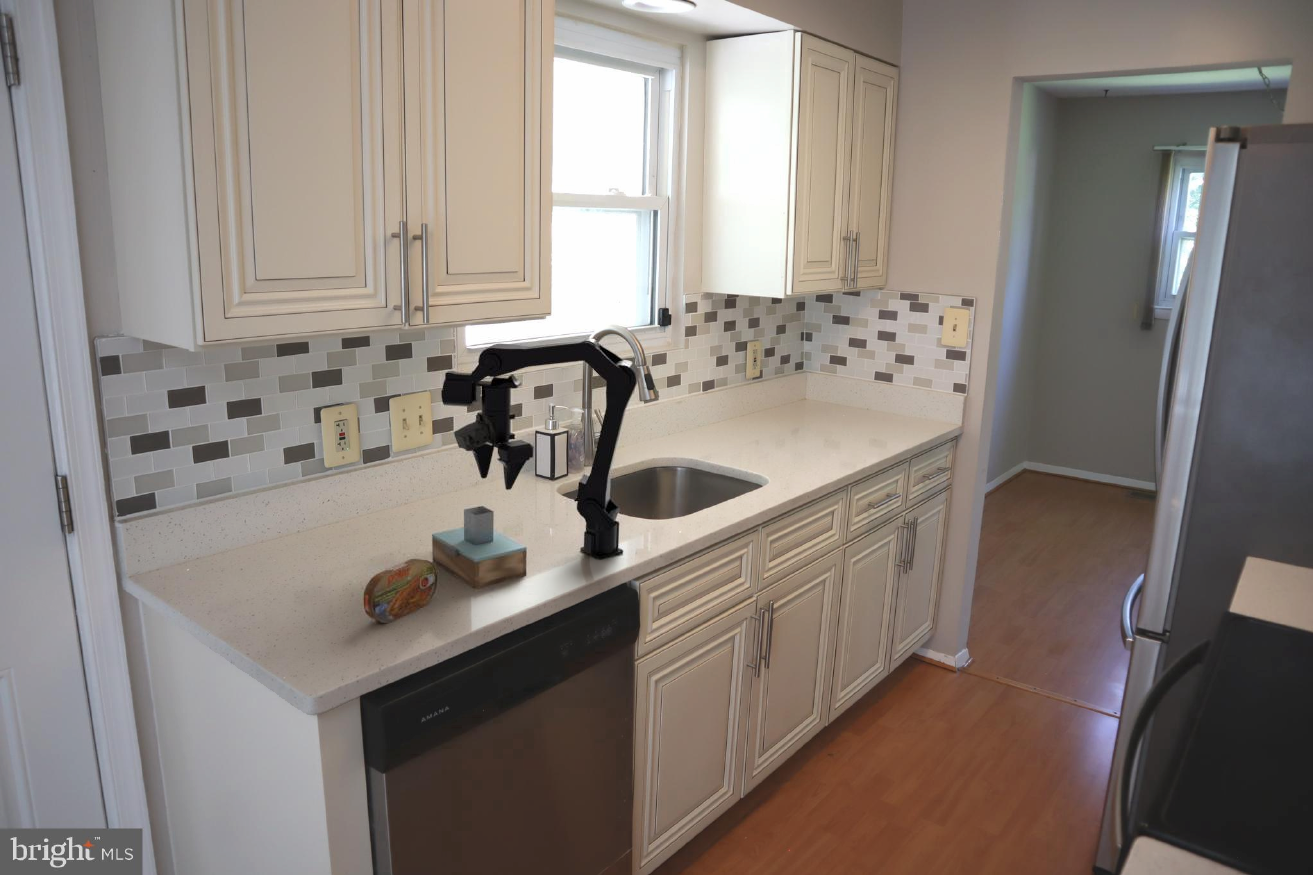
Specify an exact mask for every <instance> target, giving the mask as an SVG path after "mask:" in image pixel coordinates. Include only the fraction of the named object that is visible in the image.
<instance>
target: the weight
mask: <svg viewBox="0 0 1313 875" xmlns="http://www.w3.org/2000/svg"><path fill="white" fill-rule="evenodd" d="M494 516H495V515H494V511H493V510H492V509H489V508H487V507H486V506H483V505H480V506H474V507H470V508H464V509H463V527H464V540H466V541H468V542H469V543H471V544H473V545H475V546H476V545H480V544H484V543H489V542H493V530H494V525H495V524H494V521H495V520H494Z"/></svg>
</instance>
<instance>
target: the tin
mask: <svg viewBox="0 0 1313 875" xmlns="http://www.w3.org/2000/svg"><path fill="white" fill-rule="evenodd" d="M436 568H437V567H435V564H433V562H431V561H429V560H427V559H420V558H411V559H408V560H406V561H403V562H402V563H398V564H397V565H394V566H392V567H389V568H388V569H385V570H383V571H381V572H379V573H376V574H374V576H372V577H371V579H369V581H368V583H367V584H366V586H365V588H364V591H363V609H364V612H365V614H366V615H367V616H368V617H369V618H370V619H373V620H375V621H378V622H381V623H383V624H391V623H393V622H395V621H397V620H398V619H401V618H403V617H405V616H406V615H409V614H410V613H412V612H415V611H417V610H419V609H421V608H422V607H424V606H426V605H427V604H429V602H430V601H431V600H432V598H434V595H435V593H436V590H437V587H438V581H439V580H438V571H437V569H436Z"/></svg>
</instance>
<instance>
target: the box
mask: <svg viewBox="0 0 1313 875" xmlns="http://www.w3.org/2000/svg"><path fill="white" fill-rule="evenodd" d="M431 542H432V543H431V544H432V545H431V548H432V549H431V550H432V552H431V553H432V563H434V564H436V566H439V567H440V568H442V569H444V570H446V571H447V572H448V573H450V574H451V575H453V576H455V577H456V578H458V579H459V580H461V581H463V582H464V583H466V584H467V585H469V586H470V587H472V588H474V589H479V588H483V587H487V586H490V585H495V584H497V583H502V582H505V581H508V580H512V579H516V578H520V577H523V576H526V575H527V556H528V555H527V550H525V551H521V552H517V553H512V554H508V555H504V556H500V557H496V558H492V559H487V560H483V561H479V562H474V561H472V560H471V559H469V558H467V557H465V556H464V555H462V554H460V553H459V552H458V557H454V556H452V555H451V554H449V553H447V552H446V551H444V544H443V543H442V542H440V541H438V540H437V539H435V538H433V537H432V536H431Z"/></svg>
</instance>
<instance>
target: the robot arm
mask: <svg viewBox="0 0 1313 875" xmlns="http://www.w3.org/2000/svg"><path fill="white" fill-rule="evenodd" d="M576 362H584V363H586V364H587V365H589V367H590V368H591V369H592V370H594V372H595V373H596V374H598V376H600V377H601V378H602V379H603V380H604V381H606V385H605V387H606V388H605V404H606V405H605V411H604V415H603V419H602V424H601V429H600V432H599V437H598V440H597V446H596V449H595V454H594V458H593V461H592V466H591V471H590V473H589V475H588V474H585V473H583V474H582V477H581V478H580V480H579V481H578V486H577V495H576V496H575V498H574V501H573V502H575V503H576V510H577V513H578V514H579V515H580V516H581V517H582V518H583V519H584V522H585V531H584V533H583V546H581V547H580V549H579V550H580V551H582V552H583V553H585V554H587V555H590V557H594V558H596V559H598V560H602V559H606V558H609V557H613V556H616V555H619V554H623V553H624V550H623V549H622V548H620V547H619V542H620V541H619V540H620V539H619V538H620V521H618V520H616V519H617V517H618V515H619V512H620V510H621V509H620V507H619V506H618V505H617V503H616V502H615V501H614V500H613V499H612V498H611V496H610V495H611V471H612V466H613V463H614V459H615V454H616V450H617V446H618V442H619V437H620V433H621V429H622V426H623V422H624V417H625V412H626V409H627V407H628V405H629V402H630V400H631V398H632V396H633V394H634V391H635V389H636V387H637V386H638V382H639V381H640V377H641V372H640V369H639V367H638V366H637V364H636V363H634V362H633V361H631V360H627V359H623V358H621V357H620V356H619V355H617V354H616V353H614V352H613V351H611V349H610V350H609V349H608V348H607V347H605V346H604V345H602V344H601V343H600V342H599V341H598V340H596V339H594V338H589V337H588V338H585V339H583V340H574V341H573V340H572V341H566V342H557V343H548V344H547V343H545V344H539V345H537V344H536V345H528V346H527V345H521V344H520V345H519V344H511V343H495V344H492V345H491V346H489V347H487V348H485V349H483V350H482V351H481V352H480V354H479V356H478V365H477V366H476V367H475V368H474V369H473V371H471V372H457V371H454V370H448V371H447V372H445V373H444V380H443V383H442V389H441V394H440V395H441V396H440V397H441V402H442V404H443V405H444V406H450V407H451V406H452V407H467V408H474V406H475V404H476V403H479V402H480V401H481V411H479V412H476V413H477V414H475V421H474V422H471V423H468V424H466V425H464V426H463V427H461V428H459V429H457V430H455V431H454V432H453V435H454V439H455V442H456V444H457V446H458V448H459V449H463V450H465V451H466V452H471V453H472V454H473V457H474V459H475V463H476V465H477V468H478V473H479V474H480V477H481V479H482V480H483V479H487V477H488V476H489V471H490V467H491V464H492V459H493V453H494V450H495V448H496V449H497V455H498V457H499V458H497V459H496V460H497V461H498V462H499V463H500V464H501V465H502V467H503V478H504V487H505V490H507V491H510V490H511V489H512V488H513V486H514V484H515V483H516V481H517V478H518V477H519V475H520V472H521V471H522V470H523V468H524V466H525V464H526V463H527V461H530V460H531V458H532V459H533V458H534V456H535V447H534V446H533V445H532V444H531V443H529V442H527V441H524V440H523V439H522V440H521V439H517V440H515V439H516V434H515V433H513V432H512V431H511V428H512V426H511V425H512V424H511V423H512V422H511V420H515V419H516V414H515V413H513V412H512V411H511V410H512V409H511V407H512V404H511V403H512V395H511V394H512V389H517V388H519V387H520V386H522V382H521V381H520V380H519V379H518V378H516V375H514V374H513V372H516V371H519V370H522V369H525V368H529V367H538V366H539V367H540V366H549V365H557V364H565V363H576ZM510 373H512V374H510ZM506 374H510V375H509V376H508V377H501V376H503V375H506ZM487 377H489V378H492V379H491V380H484V379H486V378H487Z"/></svg>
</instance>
